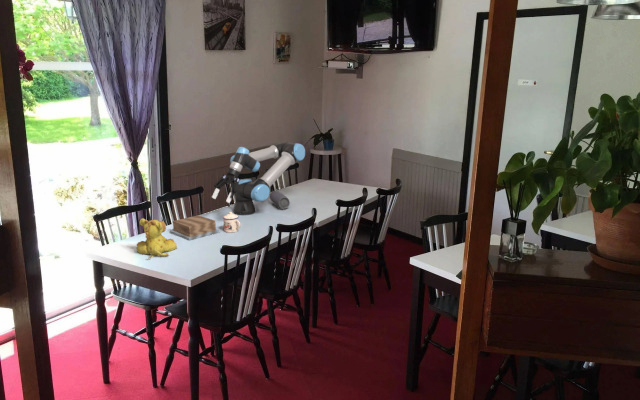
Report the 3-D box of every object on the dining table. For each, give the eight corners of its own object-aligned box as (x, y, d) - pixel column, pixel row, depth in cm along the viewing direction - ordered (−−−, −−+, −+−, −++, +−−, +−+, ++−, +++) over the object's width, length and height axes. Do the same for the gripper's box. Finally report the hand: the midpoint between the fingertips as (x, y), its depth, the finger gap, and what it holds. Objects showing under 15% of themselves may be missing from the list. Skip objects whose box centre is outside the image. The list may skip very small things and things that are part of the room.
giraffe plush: (179, 245, 292) (177, 212, 288) (169, 259, 269) (167, 224, 265) (142, 245, 291) (139, 212, 286) (129, 260, 268) (126, 224, 264)
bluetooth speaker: (290, 209, 365) (290, 195, 363) (278, 211, 362) (277, 197, 360) (281, 202, 386) (280, 189, 384) (268, 203, 383) (268, 190, 380)
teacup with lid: (220, 231, 316) (219, 212, 314) (231, 227, 324) (230, 209, 321) (235, 234, 310) (234, 215, 307) (245, 230, 317) (244, 212, 314)
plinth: (199, 225, 328) (199, 214, 326) (219, 232, 314) (218, 220, 312) (170, 233, 313) (169, 221, 312) (189, 240, 299) (188, 228, 297)
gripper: (217, 164, 335) (203, 194, 331) (244, 170, 320) (229, 201, 316) (225, 169, 341) (211, 198, 336) (251, 175, 326) (237, 206, 321)
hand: (220, 200), depth 326 cm, fingers open, 13 cm apart
